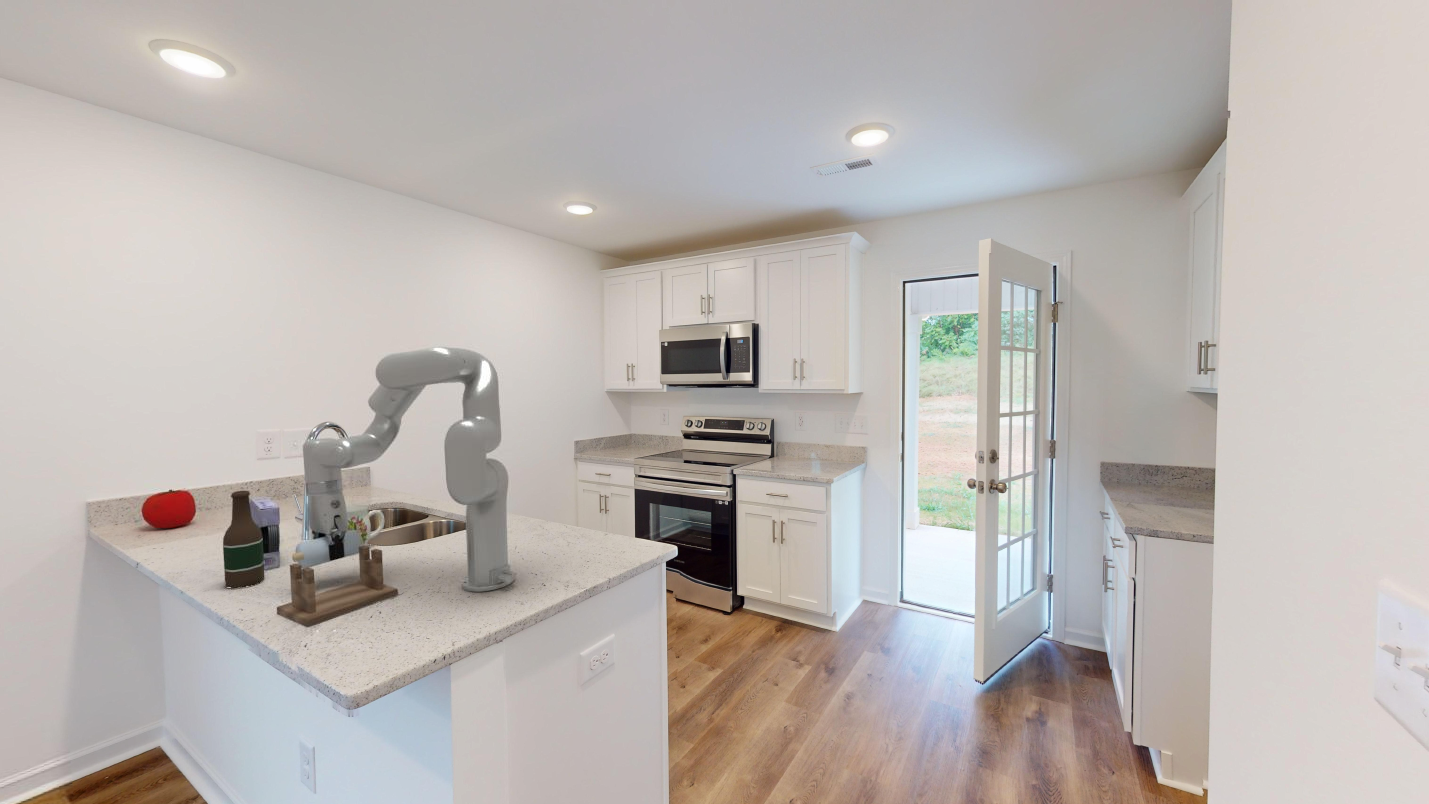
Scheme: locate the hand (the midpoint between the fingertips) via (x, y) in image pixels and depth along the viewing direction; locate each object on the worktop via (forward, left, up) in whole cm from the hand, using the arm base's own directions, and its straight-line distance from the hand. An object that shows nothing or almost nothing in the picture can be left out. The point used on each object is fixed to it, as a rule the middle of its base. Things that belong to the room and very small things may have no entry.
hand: (329, 556), depth 138 cm
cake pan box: (+36, 0, -7) cm, 36 cm away
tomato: (+115, -1, -7) cm, 115 cm away
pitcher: (+25, -18, -7) cm, 31 cm away
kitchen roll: (0, 0, -1) cm, 1 cm away
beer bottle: (+21, +10, -7) cm, 24 cm away
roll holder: (-15, +5, -7) cm, 18 cm away
